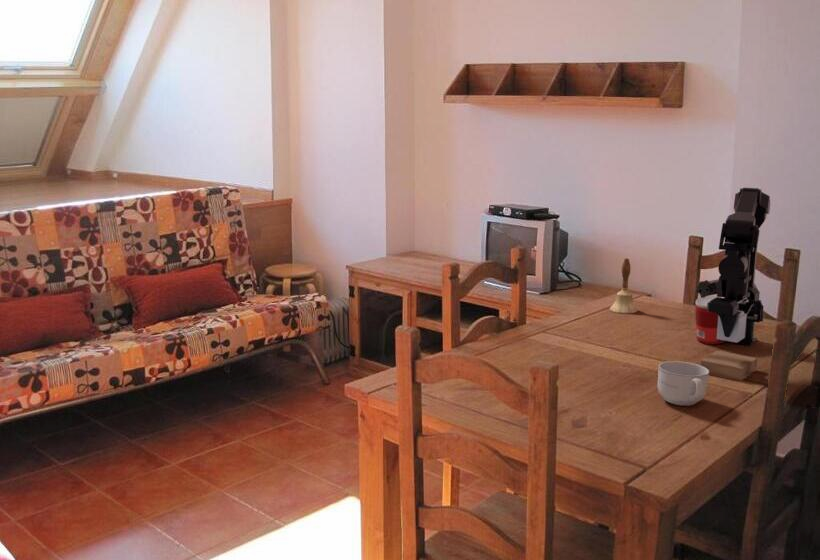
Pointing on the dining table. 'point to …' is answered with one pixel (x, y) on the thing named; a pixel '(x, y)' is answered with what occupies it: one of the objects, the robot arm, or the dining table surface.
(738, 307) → the robot arm
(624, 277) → the hand bell
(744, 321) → the white cube
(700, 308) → the canned food
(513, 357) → the dining table surface
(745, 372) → the wooden block
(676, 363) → the teacup
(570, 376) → the dining table surface
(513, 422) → the dining table surface
